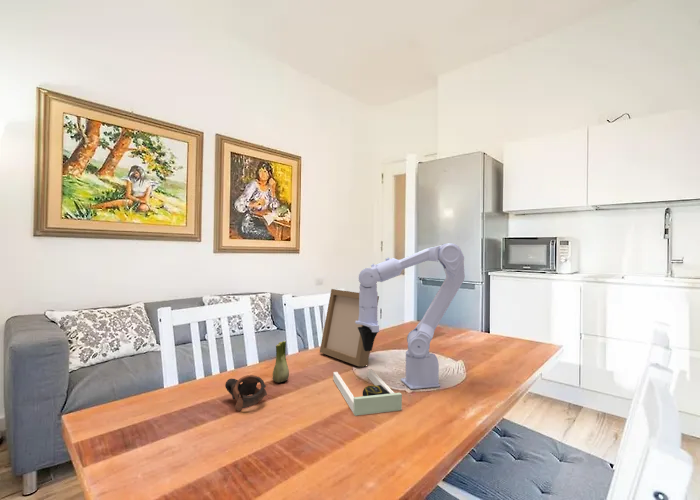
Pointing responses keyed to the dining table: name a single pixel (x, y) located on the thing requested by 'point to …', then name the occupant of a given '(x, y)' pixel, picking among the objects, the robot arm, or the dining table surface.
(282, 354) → the fennel bulb
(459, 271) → the robot arm
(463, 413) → the dining table surface
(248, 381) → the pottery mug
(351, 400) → the bay
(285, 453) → the dining table surface
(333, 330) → the photo frame
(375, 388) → the tape measure
